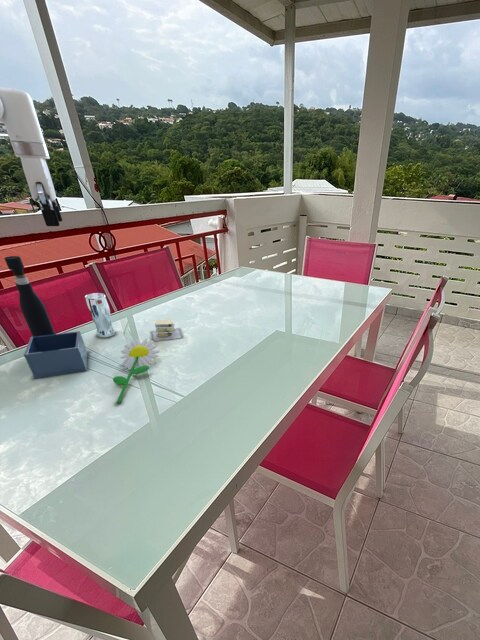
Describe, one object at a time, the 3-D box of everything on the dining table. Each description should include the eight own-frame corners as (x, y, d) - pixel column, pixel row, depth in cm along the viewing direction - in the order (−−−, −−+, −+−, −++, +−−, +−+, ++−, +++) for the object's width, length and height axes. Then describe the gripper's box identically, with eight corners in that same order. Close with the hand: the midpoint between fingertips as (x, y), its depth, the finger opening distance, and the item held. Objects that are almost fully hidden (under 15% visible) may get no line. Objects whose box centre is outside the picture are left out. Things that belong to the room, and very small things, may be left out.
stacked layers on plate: (154, 341, 125) (151, 327, 122) (152, 332, 131) (149, 318, 128) (181, 337, 128) (179, 324, 125) (178, 329, 135) (176, 316, 132)
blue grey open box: (34, 378, 100) (23, 355, 95) (40, 359, 109) (30, 336, 105) (86, 370, 105) (78, 347, 100) (87, 352, 115) (79, 331, 110)
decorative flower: (144, 408, 94) (164, 349, 116) (139, 396, 90) (160, 337, 112) (98, 411, 93) (127, 351, 115) (91, 399, 89) (122, 339, 111)
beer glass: (106, 339, 124) (94, 300, 115) (92, 336, 126) (79, 296, 117) (120, 332, 129) (110, 294, 121) (106, 329, 131) (95, 291, 123)
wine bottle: (44, 344, 118) (7, 254, 101) (63, 344, 119) (29, 255, 102) (34, 352, 113) (-7, 259, 96) (54, 352, 114) (17, 260, 97)
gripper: (19, 150, 92) (43, 219, 102) (7, 149, 80) (35, 228, 89) (51, 152, 95) (71, 219, 105) (44, 151, 83) (67, 227, 92)
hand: (55, 223), depth 97 cm, fingers open, 9 cm apart
